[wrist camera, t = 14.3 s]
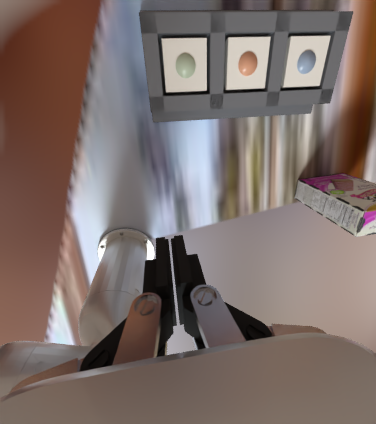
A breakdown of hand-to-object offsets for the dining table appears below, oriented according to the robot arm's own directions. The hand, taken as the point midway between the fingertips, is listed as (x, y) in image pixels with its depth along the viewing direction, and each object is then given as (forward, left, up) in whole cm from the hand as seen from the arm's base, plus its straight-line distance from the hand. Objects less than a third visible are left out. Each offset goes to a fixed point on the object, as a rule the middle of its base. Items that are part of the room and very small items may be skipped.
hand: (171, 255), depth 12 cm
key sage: (+14, -4, -26) cm, 30 cm away
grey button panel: (+14, -13, -28) cm, 34 cm away
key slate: (+14, -22, -26) cm, 37 cm away
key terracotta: (+14, -13, -26) cm, 33 cm away
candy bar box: (-8, -34, -28) cm, 45 cm away
